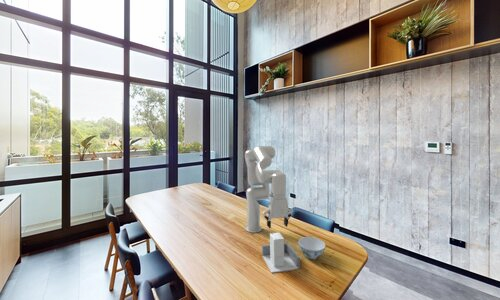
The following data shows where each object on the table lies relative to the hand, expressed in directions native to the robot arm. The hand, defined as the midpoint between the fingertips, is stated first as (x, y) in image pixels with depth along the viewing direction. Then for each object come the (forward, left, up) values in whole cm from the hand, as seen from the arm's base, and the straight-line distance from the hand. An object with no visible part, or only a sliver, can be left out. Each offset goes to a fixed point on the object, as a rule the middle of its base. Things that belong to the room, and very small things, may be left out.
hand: (277, 226), depth 110 cm
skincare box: (0, 0, -20) cm, 20 cm away
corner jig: (0, +2, -21) cm, 21 cm away
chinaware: (-1, +22, -21) cm, 30 cm away
